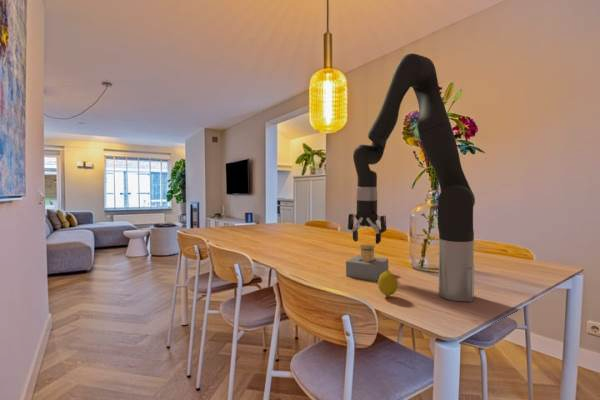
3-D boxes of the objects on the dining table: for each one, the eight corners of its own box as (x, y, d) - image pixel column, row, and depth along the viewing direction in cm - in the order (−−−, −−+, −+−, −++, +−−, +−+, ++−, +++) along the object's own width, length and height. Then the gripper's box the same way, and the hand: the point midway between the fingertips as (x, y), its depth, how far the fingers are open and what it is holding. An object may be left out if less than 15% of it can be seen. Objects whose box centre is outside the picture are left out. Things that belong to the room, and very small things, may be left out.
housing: (388, 272, 119) (388, 258, 118) (377, 281, 109) (377, 265, 109) (359, 268, 125) (359, 255, 125) (346, 275, 116) (345, 261, 115)
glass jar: (376, 273, 118) (376, 245, 117) (371, 277, 113) (371, 247, 113) (363, 271, 121) (363, 243, 120) (357, 275, 116) (357, 246, 116)
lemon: (374, 295, 95) (374, 269, 95) (389, 292, 97) (388, 267, 97) (386, 301, 90) (386, 274, 90) (401, 298, 92) (401, 271, 92)
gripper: (389, 199, 115) (388, 242, 116) (353, 198, 123) (353, 238, 124) (382, 200, 109) (381, 246, 109) (345, 199, 116) (344, 241, 117)
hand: (366, 242), depth 116 cm, fingers open, 8 cm apart
